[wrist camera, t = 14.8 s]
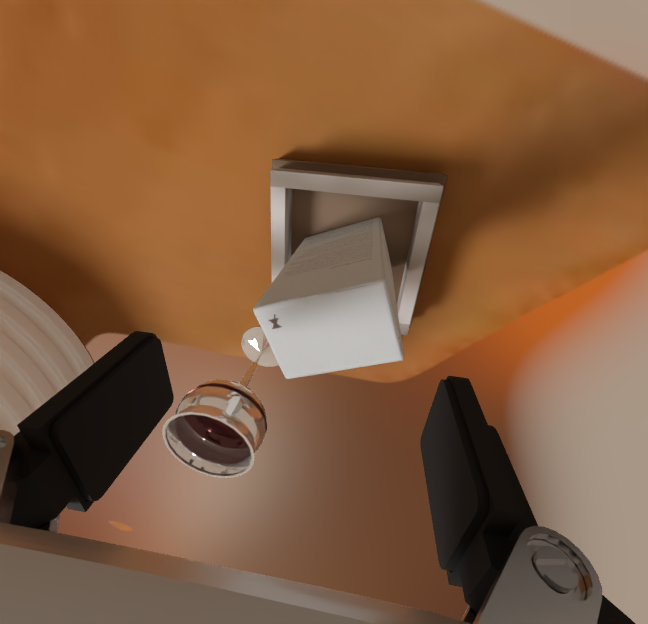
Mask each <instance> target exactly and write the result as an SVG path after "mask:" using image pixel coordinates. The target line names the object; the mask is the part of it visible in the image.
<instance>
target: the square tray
mask: <svg viewBox="0 0 648 624" xmlns="http://www.w3.org/2000/svg"><path fill="white" fill-rule="evenodd" d="M270 174H271V261H272V282H273V281H274V280H275V278H276V277H277V276H278V274H279V273H280V272H281V270H282V269H283V268H284V266H285V265H286V263H287V262H288V261H289V259H290V258H291V257H292V255H293V254H294V253H295V251H296V250H297V248H298V247H299V246H300V244H301V243H302V242H303V240H304V239H305V238H306V237H310V236H313V235H317V234H320V233H324V232H327V231H331V230H334V229H338V228H341V227H345V226H349V225H352V224H355V223H359V222H363V221H366V220H370V219H373V218H377V217H380V218H381V221H382V225H383V230H384V234H385V239H386V244H387V248H388V253H389V258H390V263H391V268H392V275H393V282H394V289H395V297H396V303H397V310H398V317H399V324H400V331H401V335H407V334H408V329H409V328H410V326H411V322H412V318H413V314H414V310H415V306H416V302H417V298H418V294H419V290H420V286H421V282H422V278H423V274H424V270H425V265H426V261H427V257H428V253H429V249H430V245H431V241H432V237H433V233H434V229H435V225H436V221H437V217H438V213H439V209H440V205H441V201H442V197H443V193H444V188H445V184H446V180H447V176H448V175H446V174H442V173H431V172H420V171H409V170H398V169H387V168H376V167H365V166H354V165H343V164H332V163H321V162H310V161H299V160H287V159H272V170H270Z"/></svg>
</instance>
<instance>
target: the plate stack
mask: <svg viewBox="0 0 648 624" xmlns="http://www.w3.org/2000/svg"><path fill="white" fill-rule="evenodd" d="M93 364H94V361H93V359H92V357H91V355H90V353H89V351H88V350H87V348H86V347H84V345H83V344H82V343H81V341H80V340H79V338H78V337H77V336H76V334H75V333H74V332H73V331H72V330H71V328H70V327H69V326H68V325H67V324H66V323H65V322H64V320H63V319H62V318H61V317H60V316H59V315H58V314H57V313H56V312H55V311H54V310H53V309H52V308H51V307H50V306H48V305H47V304H46V303H45V302H44V301H43V300H42V299H40V298H39V297H38V296H37V295H35V294H34V293H33V292H32V291H30V290H29V289H28V288H26V287H25V286H24V285H22V284H21V283H19V282H18V281H16V280H15V279H13V278H12V277H10V276H8V275H7V274H5V273H3V272H2V271H0V430H5V431H8V432H11V434H12V435H13V436H15V435H16V434H17V433H18V432H20V430H19V428H18V427H17V425H18V424H19V423H20V422H21V421H23V420H24V419H25V418H26V417H28V416H29V415H30V414H31V413H33V412H34V411H35V410H36V409H38V408H39V407H40V406H41V405H43V404H44V403H45V402H46V401H48V400H49V399H50V398H51V397H53V396H54V395H55V394H57V393H58V392H59V391H60V390H62V389H63V388H64V387H65V386H67V385H68V384H69V383H70V382H72V381H73V380H74V379H75V378H77V377H78V376H79V375H80V374H82V373H83V372H84V371H85V370H87V369H88V368H89V367H90V366H92V365H93Z"/></svg>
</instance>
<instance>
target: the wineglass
mask: <svg viewBox="0 0 648 624" xmlns="http://www.w3.org/2000/svg"><path fill="white" fill-rule="evenodd" d="M241 344H242V349H243V351H244V353H245V355H246V356H247V357H248V358H249V359H250V360H251V361H253V363H252V365H251V366H250V368H249V369H248V371H247V372H246V374H245V375H244V377H243V378H242V380H241V381H240V383H238V382H235V381H227V380H213V381H207V382H205V383H203V384H201V385H199V386H198V387H196V388H194V389H193V390H191V391H190V392H188V393H187V395H186V396H184V398H183V399H182V401H181V402H180V404H179V406H178V408H177V410H176V414H175V416H173V417H171V418H169V419H168V420H167V421H166V423H165V425H164V426H163V439H164V442H165V444H166V446H167V448H168V449H169V450H170V452H171V453H172V454H173V456H174V457H176V458H177V459H178V460H179V461H180V462H182V463H183V464H184V465H186V466H188V467H190V468H191V469H193V470H195V471H197V472H199V473H202V474H205V475H208V476H213V477H220V478H230V477H237V476H240V475H243V474H245V473H246V472H247V471H248V470H249V469H250V468H252V465H253V462H254V459H255V458H254V453H255V452H256V451H257V450H258V449H259V447H260V446H261V444H262V442H263V439H264V437H265V433H266V430H267V421H266V412H265V408H264V406H263V405H262V403H261V401H260V400H259V398H258V397H257V396H256V395H255V393H254V392H253V391H251V389H250V388H248V387H247V386H248V384H249V382H250V380H251V378H252V376H253V374H254V372H255V370H256V367H257V365H258V364H259V365H262V366H268V367H272V366H277V365H279V364H278V362H277V360H276V357H275V355H274V353H273V351H272V349H271V346H270V344H269V342H268V340H267V338H266V336H265V334H264V332H263V330H262V328H261V327H254V328H251V329H249V330H248V331H246V332H245V334H244V335H243V337H242V341H241Z"/></svg>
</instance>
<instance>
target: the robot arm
mask: <svg viewBox="0 0 648 624" xmlns="http://www.w3.org/2000/svg"><path fill="white" fill-rule="evenodd" d="M172 403H173V392H172V387H171V383H170V379H169V375H168V370H167V366H166V362H165V357H164V353H163V349H162V344H161V341H160V340H159V339H158V338H157V337H156V335H155V334H153V333H147V332H140V331H135V332H133V333H132V334H130V335H129V336H128V337H127V338H125V339H124V340H123V341H122V342H120V343H119V344H118V345H117V346H116V347H114V348H113V349H112V350H110V351H109V352H108V353H107V354H105V355H104V356H103V357H102V358H100V359H99V360H98V361H97V362H96V363H94V364H93V365H92V366H90V367H89V368H88V369H87V370H85V371H84V372H83V373H82V374H80V375H79V376H78V377H77V378H75V379H74V380H73V381H72V382H70V383H69V384H68V385H67V386H65V387H64V388H63V389H62V390H60V391H59V392H58V393H57V394H55V395H54V396H53V397H51V398H50V399H49V400H48V401H46V402H45V403H44V404H43V405H41V406H40V407H39V408H38V409H36V410H35V411H34V412H33V413H31V414H30V415H29V416H28V417H26V418H25V419H24V420H23V421H21V422H20V423H19V424H18V425H17V427H18V428H19V430H20V432H18V433H17V434H16V435H15V436H13V435H12V434H11V432H8V431H5V430H0V624H635V623H634V622H633V621H632V620H631V619H630V618H628V617H627V616H626V615H625V614H624V613H623V612H621V611H620V610H619V609H618V608H617V607H616V606H614V605H613V604H612V603H611V602H610V601H609V600H607V598H605V597H604V596H603V595H602V587H601V583H600V581H599V577H598V575H597V573H596V571H595V570H594V568H593V566H592V564H591V563H590V561H589V560H588V559H587V558H586V557H585V555H584V554H583V553H582V552H581V550H580V549H579V548H578V547H576V546H575V545H574V544H573V543H572V542H571V541H570V540H568V539H567V538H566V537H564V536H563V535H561V534H559V533H558V532H556V531H554V530H551V529H549V528H546V527H540V526H538V525H537V522H536V520H535V518H534V515H533V513H532V511H531V508H530V506H529V504H528V501H527V499H526V497H525V495H524V492H523V490H522V487H521V485H520V483H519V481H518V478H517V476H516V474H515V471H514V469H513V467H512V464H511V462H510V460H509V457H508V455H507V453H506V450H505V448H504V446H503V444H502V441H501V439H500V436H499V434H498V433H497V430H496V429H495V428H494V427H493V426H490V425H488V424H487V422H486V420H485V417H484V415H483V412H482V410H481V407H480V405H479V402H478V400H477V397H476V395H475V392H474V390H473V387H472V385H471V383H470V381H469V379H467V378H461V377H454V376H448V377H447V379H446V380H441V381H440V383H439V386H438V389H437V392H436V395H435V398H434V401H433V404H432V407H431V409H430V412H429V415H428V418H427V421H426V424H425V427H424V430H423V433H422V436H421V452H422V459H423V465H424V471H425V477H426V484H427V490H428V496H429V503H430V509H431V515H432V522H433V528H434V534H435V541H436V547H437V553H438V560H439V564H440V567H441V568H442V569H444V570H447V575H448V581H449V584H450V585H454V586H459V587H463V592H464V597H465V601H466V602H467V603H468V605H469V606H468V608H467V610H466V612H465V614H464V616H463V618H462V620H461V621H460V620H457V619H454V618H450V617H447V616H443V615H440V614H437V613H433V612H430V611H425V610H421V609H417V608H412V607H408V606H404V605H400V604H395V603H391V602H387V601H382V600H378V599H374V598H370V597H365V596H361V595H356V594H351V593H347V592H342V591H337V590H332V589H328V588H323V587H319V586H314V585H309V584H304V583H299V582H294V581H290V580H286V579H281V578H276V577H271V576H267V575H262V574H257V573H252V572H247V571H243V570H238V569H233V568H228V567H223V566H218V565H214V564H209V563H204V562H199V561H194V560H189V559H185V558H180V557H175V556H170V555H165V554H160V553H155V552H151V551H146V550H141V549H136V548H131V547H126V546H121V545H116V544H110V543H106V542H101V541H96V540H91V539H86V538H81V537H76V536H71V535H66V534H61V533H58V525H59V514H60V513H61V511H62V510H63V509H64V508H65V507H66V506H67V508H68V509H73V510H78V511H83V512H86V511H87V509H89V507H90V506H91V505H92V503H93V502H94V501H97V500H99V499H100V498H101V497H102V496H103V495H104V493H105V492H106V491H107V490H108V488H109V487H110V486H111V484H112V483H113V482H114V480H115V479H116V478H117V476H118V475H119V474H120V473H121V471H122V470H123V469H124V467H125V466H126V465H127V463H128V462H129V460H130V459H131V458H132V457H133V455H134V454H135V453H136V451H137V450H138V449H139V447H140V446H141V445H142V444H143V442H144V441H145V440H146V438H147V437H148V436H149V434H150V433H151V432H152V430H153V429H154V428H155V427H156V425H157V424H158V422H159V421H160V420H161V418H162V417H163V416H164V415H165V413H166V412H167V411H168V409H169V408H170V407H171V405H172Z"/></svg>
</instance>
